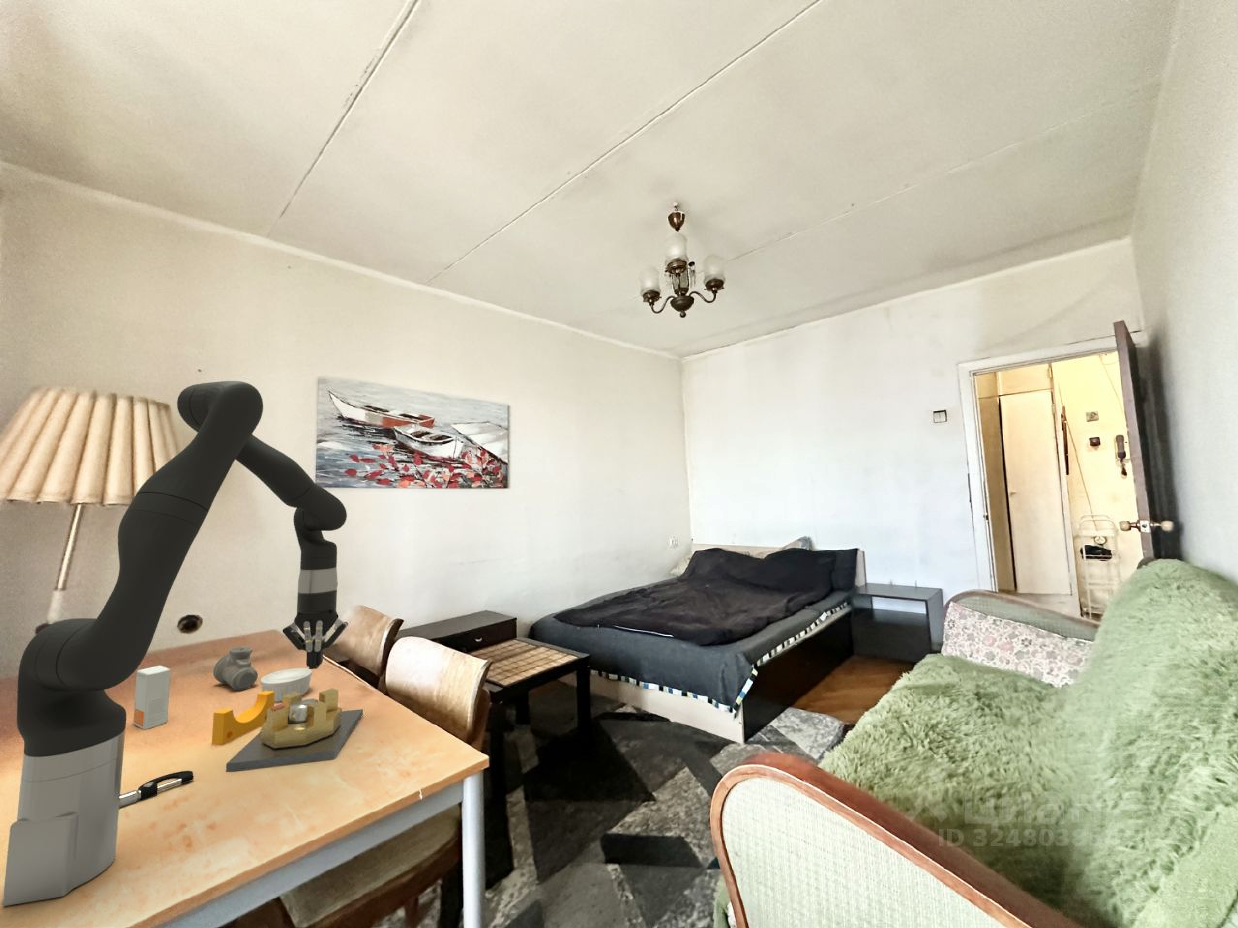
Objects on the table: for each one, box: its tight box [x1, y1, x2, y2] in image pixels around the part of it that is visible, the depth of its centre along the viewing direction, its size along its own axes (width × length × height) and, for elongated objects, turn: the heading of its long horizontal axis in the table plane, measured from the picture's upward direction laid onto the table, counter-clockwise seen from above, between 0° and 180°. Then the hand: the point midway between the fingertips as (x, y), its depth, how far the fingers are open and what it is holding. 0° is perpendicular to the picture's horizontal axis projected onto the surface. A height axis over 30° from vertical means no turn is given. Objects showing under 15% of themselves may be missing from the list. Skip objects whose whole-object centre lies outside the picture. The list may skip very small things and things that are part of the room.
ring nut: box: [261, 688, 343, 748], centre depth 101 cm, size 13×13×7 cm
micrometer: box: [119, 770, 194, 809], centre depth 82 cm, size 15×7×2 cm, turn 142°
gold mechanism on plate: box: [225, 698, 364, 773], centre depth 101 cm, size 20×18×8 cm
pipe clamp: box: [211, 691, 275, 746], centre depth 105 cm, size 12×4×6 cm, turn 170°
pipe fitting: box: [212, 645, 259, 691], centre depth 132 cm, size 12×8×10 cm
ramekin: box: [260, 667, 313, 703], centre depth 125 cm, size 11×11×5 cm
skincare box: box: [132, 665, 172, 730], centre depth 110 cm, size 6×4×12 cm
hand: (314, 667), depth 107 cm, fingers closed
